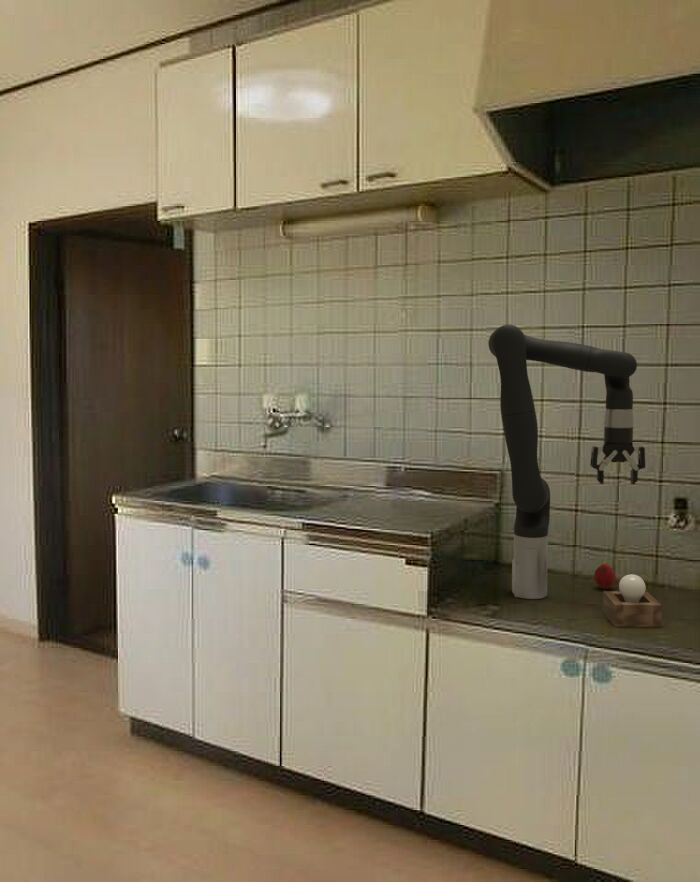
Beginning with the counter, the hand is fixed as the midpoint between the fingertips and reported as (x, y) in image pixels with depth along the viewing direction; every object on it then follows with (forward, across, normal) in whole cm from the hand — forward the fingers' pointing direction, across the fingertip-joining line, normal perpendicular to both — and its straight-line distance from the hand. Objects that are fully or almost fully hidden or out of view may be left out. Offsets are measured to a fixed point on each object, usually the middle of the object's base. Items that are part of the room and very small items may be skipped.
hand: (617, 483), depth 218 cm
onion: (+31, -2, +4) cm, 32 cm away
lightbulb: (+31, -1, -22) cm, 38 cm away
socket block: (+31, -1, -22) cm, 38 cm away
